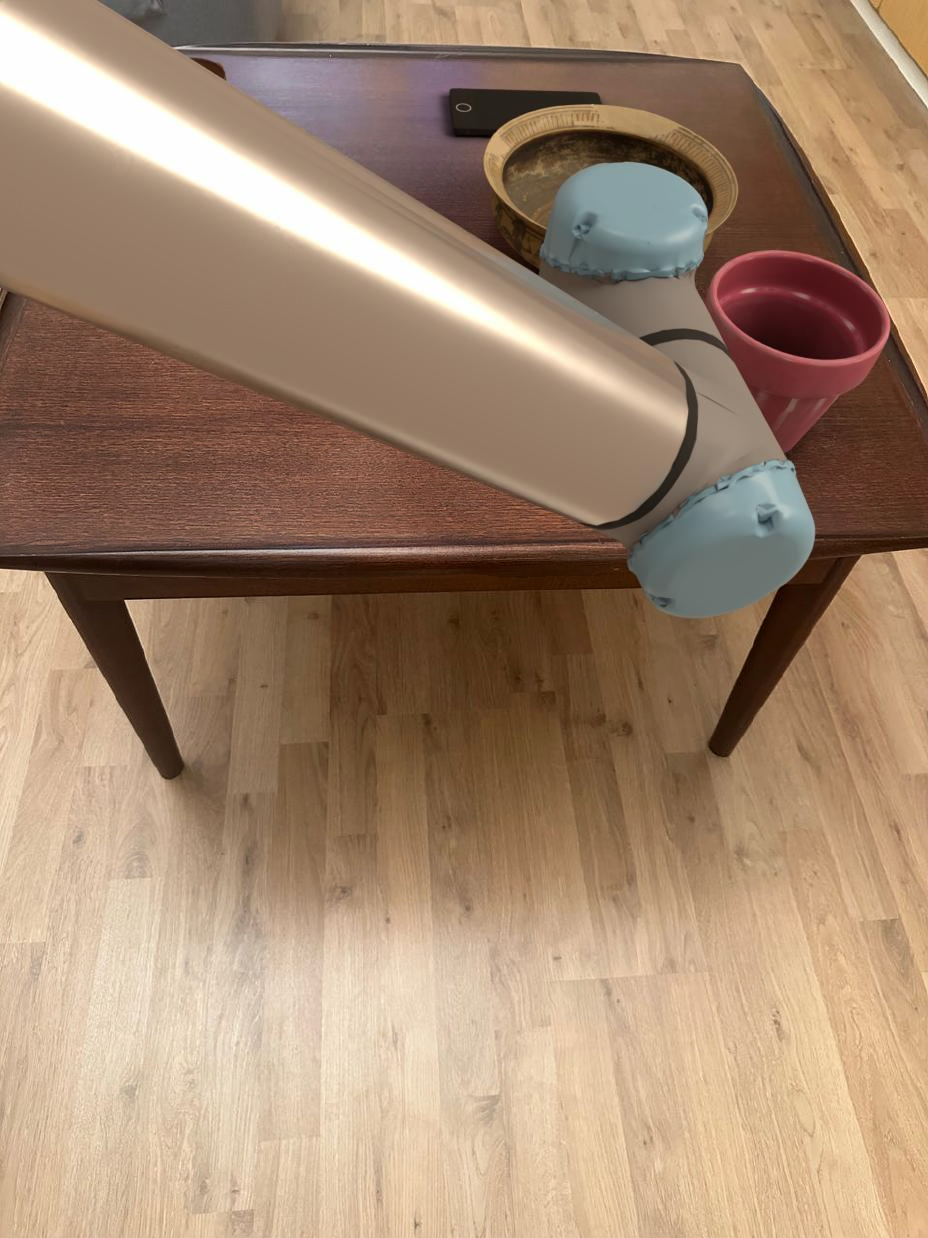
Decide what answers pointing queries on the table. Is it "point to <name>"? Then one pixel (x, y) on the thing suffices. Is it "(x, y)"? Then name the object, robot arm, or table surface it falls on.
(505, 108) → the cell phone
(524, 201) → the ceramic bowl
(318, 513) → the table surface
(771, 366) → the flower pot
